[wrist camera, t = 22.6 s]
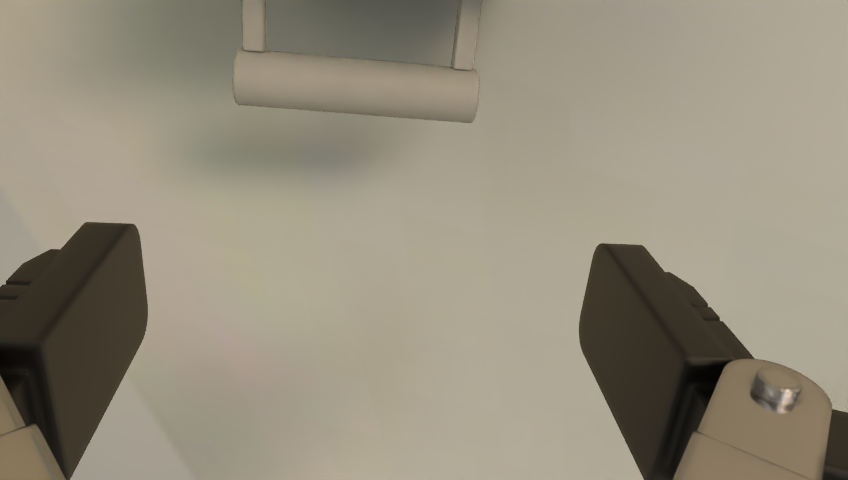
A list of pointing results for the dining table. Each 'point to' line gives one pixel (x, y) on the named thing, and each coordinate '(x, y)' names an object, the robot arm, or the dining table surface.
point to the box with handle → (358, 76)
